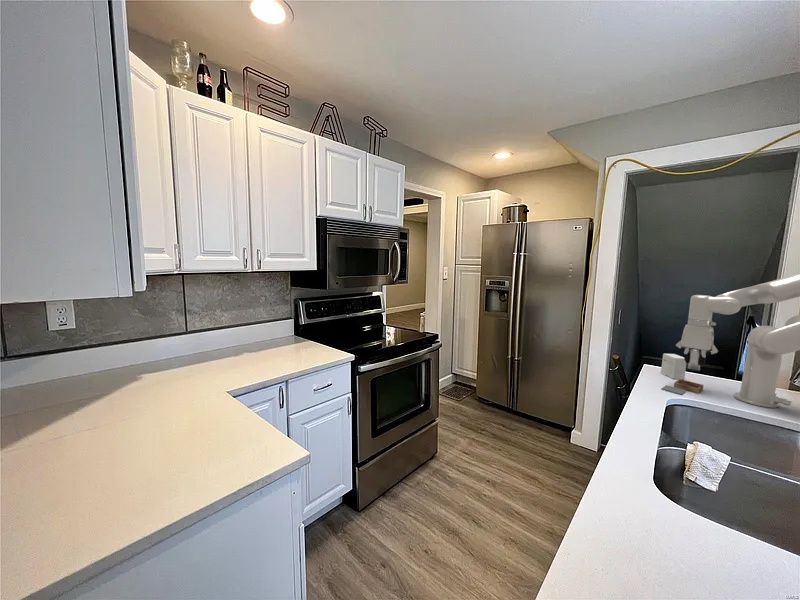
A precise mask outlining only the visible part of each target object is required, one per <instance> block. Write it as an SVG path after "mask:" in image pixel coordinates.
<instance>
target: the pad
mask: <svg viewBox="0 0 800 600" xmlns="http://www.w3.org/2000/svg"><path fill="white" fill-rule="evenodd" d="M660 390H661V391H664V390H665V392H668V393H672V394H676V395H679V396H683V395H684V394H685V393H686V392H687V391H686V390H683V389H679V388H675V387H674V386H672V385H667V384H666V385H664V386H663V387H661V389H660Z"/></svg>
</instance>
